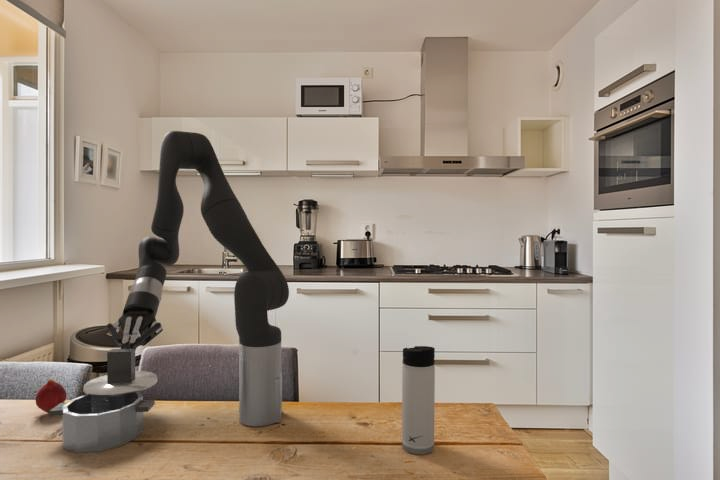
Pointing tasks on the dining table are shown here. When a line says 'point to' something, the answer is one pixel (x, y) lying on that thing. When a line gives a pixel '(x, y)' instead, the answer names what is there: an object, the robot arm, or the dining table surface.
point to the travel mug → (418, 399)
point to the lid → (120, 376)
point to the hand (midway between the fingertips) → (124, 360)
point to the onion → (50, 396)
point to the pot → (101, 421)
